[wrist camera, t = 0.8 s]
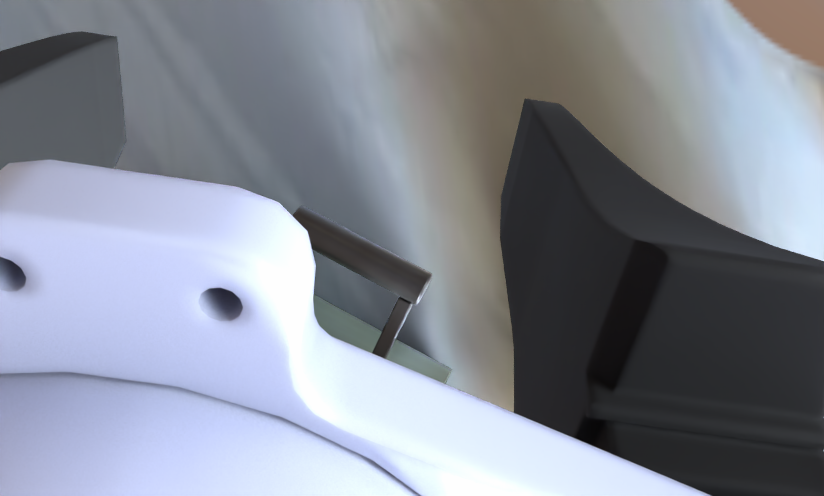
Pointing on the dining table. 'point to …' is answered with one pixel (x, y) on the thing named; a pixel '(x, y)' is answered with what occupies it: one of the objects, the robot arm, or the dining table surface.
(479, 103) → the dining table surface
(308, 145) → the dining table surface
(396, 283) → the drawer
